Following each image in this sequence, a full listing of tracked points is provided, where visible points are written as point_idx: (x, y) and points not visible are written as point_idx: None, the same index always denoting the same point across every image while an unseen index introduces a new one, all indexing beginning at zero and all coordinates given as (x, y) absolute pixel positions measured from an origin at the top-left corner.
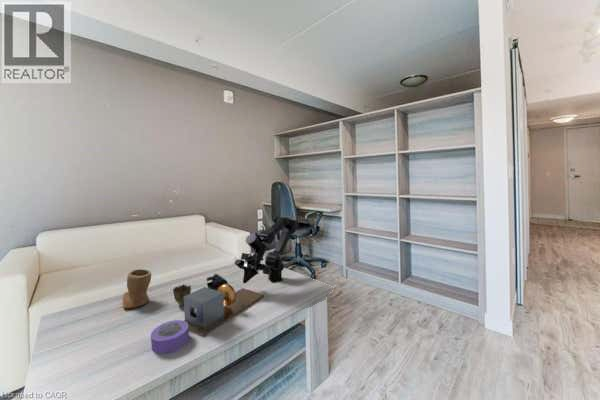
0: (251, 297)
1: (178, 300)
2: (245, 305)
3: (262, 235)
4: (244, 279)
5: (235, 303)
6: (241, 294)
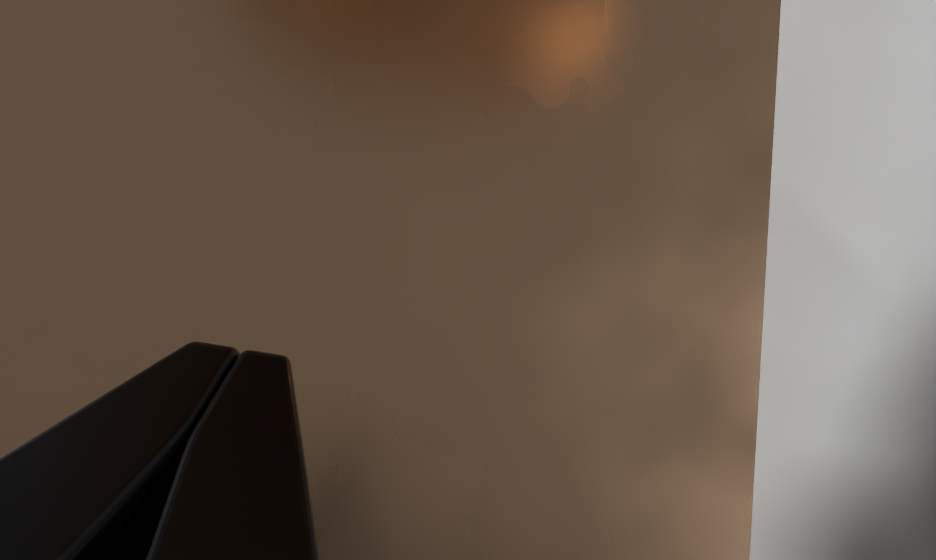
0: None
1: None
2: (19, 17)
3: None
4: (190, 438)
5: (321, 11)
6: (478, 500)
